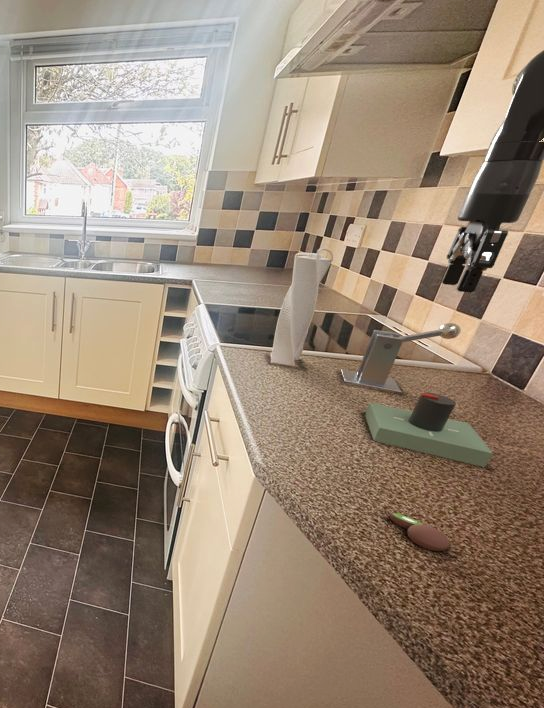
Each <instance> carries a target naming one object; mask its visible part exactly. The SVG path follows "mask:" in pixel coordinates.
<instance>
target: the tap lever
mask: <svg viewBox="0 0 544 708" xmlns="http://www.w3.org/2000/svg"><path fill="white" fill-rule="evenodd" d="M461 331H462V330H461V327H460V325H458V324H456V323H453V322H447V323H444V324H442V325H440V327H439V328H438V329H436V330H430V331H425V332H418V333H414V334H408V335H402V336H399V337H398V338H403V339H404V340H403V343H406V342H413V341H418V340H424V339H429V338H430V339H431V338H437V337H440V338H441V339H445V340H451V339H455V338H457V337H458V336H460V334H461ZM386 336H392V334H391V335H386ZM392 337H393V336H392ZM375 338H376V337H375Z"/></svg>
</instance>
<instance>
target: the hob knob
mask: <svg viewBox="0 0 544 708" xmlns="http://www.w3.org/2000/svg"><path fill="white" fill-rule="evenodd" d="M456 405H457V402H456V400H454V399H452V398H449V397H448V396H444V395H441V394H438V393H431V392H422V393H420V395H419V397H418V399H417V401H416V403H415V406H414V408H413V410H412V411H413V412H412V414H411V416H410V418H409V422H410V423H411V424H413V425H415V426H417V427H419V428H422V429H425V430H429V431H442V430H443V428H444V426H445V424H446V422H447V420H448V419H450V417H451V414H452V413H453V410H454V409H455V406H456Z"/></svg>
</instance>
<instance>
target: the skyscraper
mask: <svg viewBox="0 0 544 708" xmlns="http://www.w3.org/2000/svg"><path fill="white" fill-rule="evenodd" d="M321 251H326V252H328V253H329V255H330V258H326V257H323V253H320V252H321ZM300 255H301V256H300ZM302 255H303V256H302ZM333 261H334V255H333V251H332V250H331V249H329V248H327V247H320V248H318V249H317V250H316V253H315V252H306V251H305V252H304V251H303V252H302V251H301V252H296V254H294V261H293V269H292V279H291V284H290V287H289V289H288V291H287V292H286V295H285V297H284V299H283V301H282V305H281V308H280V311H279V314H278V318H277V322H276V328H275V332H274V337H273V342H272V343H273V344H272V351H271V353H270V354H269V357H270V363H274V364H281V365H286V366H292V367H296V366H295V361H300V357H301V356H302V354H303V351H304V345H305V342H306V339H307V336H308V334H309V329H310V326H311V324H312V322H313V321H312V320H313V319H314V316H315V312H316V308H317V304H318V297H319V296H318V295H319V287H320V284H321V282H322V280H323V278H324V277H325V275H326V274H327V272H328V270H329V268H330V267H331V264H332V262H333Z"/></svg>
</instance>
